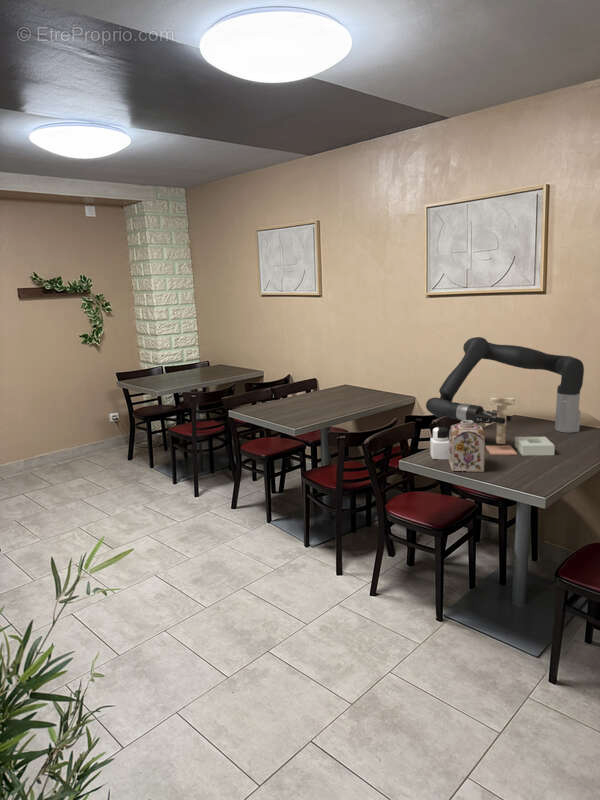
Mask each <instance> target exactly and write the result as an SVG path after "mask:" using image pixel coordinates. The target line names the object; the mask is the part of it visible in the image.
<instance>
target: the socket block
mask: <svg viewBox="0 0 600 800" xmlns="http://www.w3.org/2000/svg"><path fill="white" fill-rule="evenodd" d="M514 447H515V448H516V450H517V451H518V452H519V453H520V454H521V456H555V449H556V447H555V444H554V443H553V442H551V440H549V438H547V436H515V437H514Z"/></svg>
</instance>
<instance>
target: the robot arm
mask: <svg viewBox="0 0 600 800" xmlns="http://www.w3.org/2000/svg"><path fill="white" fill-rule="evenodd" d="M462 349H463V351H464V352H463V353H464V356H463V357H462V358H461V360H460V362H459V363H458V364H457V366H456V367H455V368H454V369H453V370H452V371H451V372H450V373H449V375H448V376H447V377H446V378H445V380H444V381H443V383H442V384H441V386H440V388H439V390H438V391H439V393H440V397H430V398H429V399H428V400H427V401H426V404H425V408H426V410H427V411H428V412H429V413H431V414H432V415H433V416H434V417H436V418H442V417H444V416H446V417H448V418H451V419H454V420H458V421H463V420H471V421H473V424H477V425H480V424H490V425H491V424H497V423H501V424H505V421H506V422H512V416H511V415H508V414H507V415H506V419H505V418H500V417H497V410H496V409H494V410H485V409H484V407H483V406H481V405H477V404H476V405H475V404H470V403H460V402H453V399H454V397H455V396H456V394H457V392H458V391H459V389H460V388H461V386H462V385H463V384H464V381H465V380H466V379H467V377H468V376H469V374H470V373H471V372H472V370H473V369H474V368H476V366H477V364H479V362H480V361H481V360H490V361H493V362H494V361H495V362H497V363H501V364H503V365H507V366H512V367H516V368H521V369H526V370H543V371H546V372H547V371H548V372H551V373H553V374H558V375H560V377H561V378H560V379H561V380H560V384H559V385H558V386H557V388H556V389H557V390H556V403H555V404H556V406H555V419H554V420H555V421H554V422H555V423H554V429H555V431H557V432H561V433H576V432H580V429H581V428H580V426H581V425H580V424H581V413H582V412H581V410H580V399H581V398H580V397H581V390H582V388H583V382H584V377H585V376H584V374H585V366H584V363H583V361H582V360H581V359H578V358H576V357H573V356H570V355H558V354H551V353H546V352H543V351H540V350H537V349H534V348H531V347H525V346H521V345H520V346H519V345H511V344H496V343H494V342H493V343H492V342H488V340H487V339H486V338H484V337H481V336H477V337H471V338H469V339H467V340H466V341H465V342H464V344H463V347H462Z"/></svg>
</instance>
